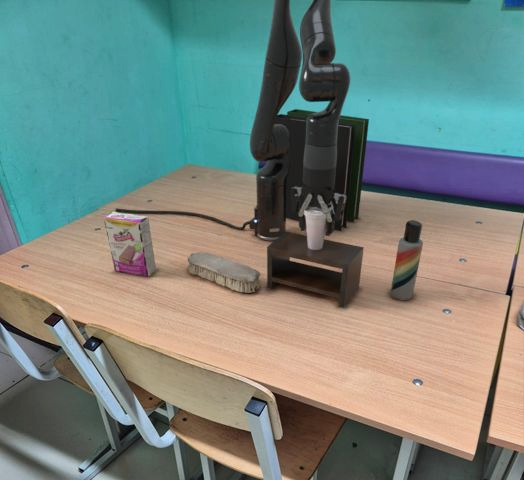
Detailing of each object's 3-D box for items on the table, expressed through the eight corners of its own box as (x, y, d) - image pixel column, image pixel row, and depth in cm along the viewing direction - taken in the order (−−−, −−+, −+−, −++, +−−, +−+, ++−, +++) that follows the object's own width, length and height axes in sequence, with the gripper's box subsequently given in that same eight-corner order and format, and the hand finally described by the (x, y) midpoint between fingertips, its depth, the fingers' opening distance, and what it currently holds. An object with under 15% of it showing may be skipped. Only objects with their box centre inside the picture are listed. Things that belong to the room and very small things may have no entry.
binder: (359, 218, 171) (370, 118, 152) (338, 232, 162) (347, 128, 142) (293, 202, 184) (295, 109, 165) (270, 215, 174) (270, 117, 155)
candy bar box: (114, 272, 141) (102, 217, 131) (123, 264, 145) (112, 210, 135) (148, 278, 138) (139, 222, 128) (157, 270, 142) (148, 215, 132)
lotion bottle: (387, 290, 131) (399, 217, 119) (408, 288, 132) (422, 216, 120) (394, 301, 127) (406, 227, 115) (415, 299, 127) (430, 226, 115)
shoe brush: (181, 273, 140) (179, 257, 137) (199, 263, 145) (197, 247, 142) (249, 297, 129) (248, 280, 126) (265, 286, 134) (265, 269, 131)
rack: (267, 287, 133) (266, 246, 126) (285, 270, 141) (286, 231, 133) (343, 307, 124) (348, 264, 117) (358, 288, 132) (363, 247, 125)
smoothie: (326, 253, 122) (330, 197, 114) (300, 251, 123) (303, 196, 115) (328, 242, 127) (333, 188, 119) (304, 240, 128) (306, 187, 120)
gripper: (355, 163, 113) (348, 232, 123) (298, 155, 118) (296, 222, 128) (343, 172, 108) (337, 243, 118) (284, 163, 113) (283, 232, 123)
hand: (316, 232), depth 123 cm, fingers closed on smoothie, 6 cm apart
